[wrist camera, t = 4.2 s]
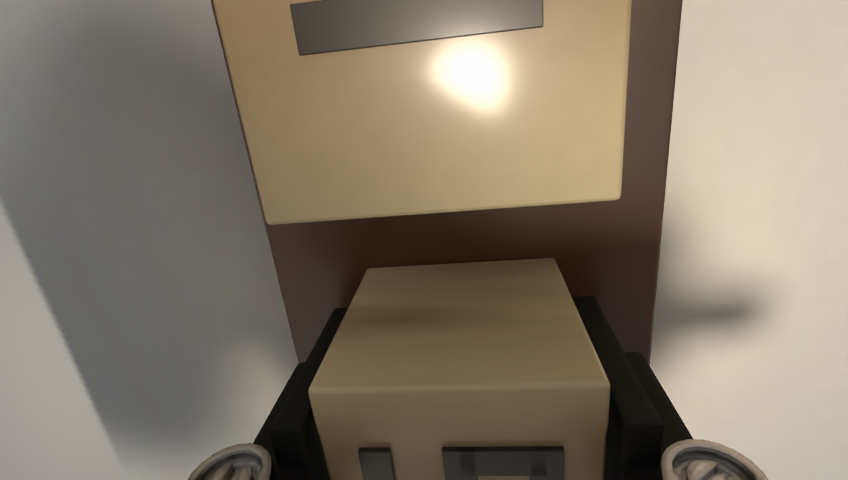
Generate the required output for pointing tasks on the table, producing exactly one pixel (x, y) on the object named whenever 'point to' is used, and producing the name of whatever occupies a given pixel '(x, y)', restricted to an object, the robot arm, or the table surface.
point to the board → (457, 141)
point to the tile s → (462, 378)
